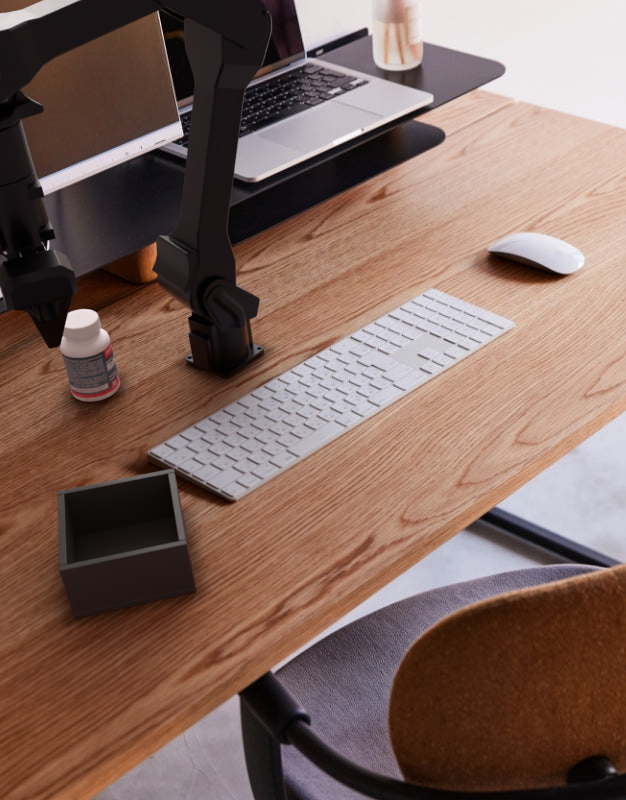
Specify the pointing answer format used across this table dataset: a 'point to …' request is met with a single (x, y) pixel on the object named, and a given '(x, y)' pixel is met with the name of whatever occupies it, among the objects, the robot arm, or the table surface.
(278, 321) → the table surface
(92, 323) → the pill bottle
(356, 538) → the table surface
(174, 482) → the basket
